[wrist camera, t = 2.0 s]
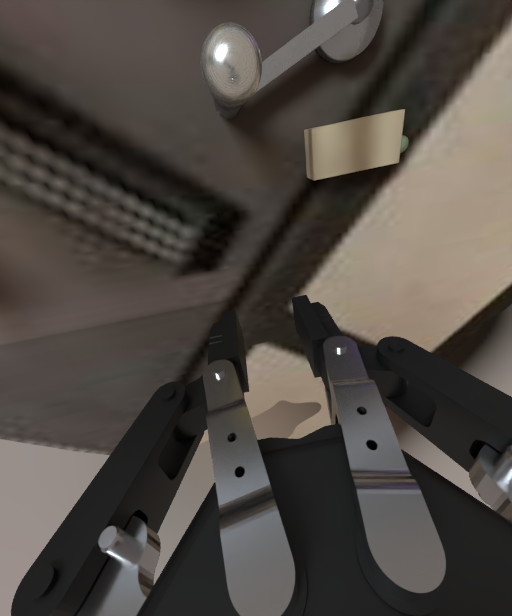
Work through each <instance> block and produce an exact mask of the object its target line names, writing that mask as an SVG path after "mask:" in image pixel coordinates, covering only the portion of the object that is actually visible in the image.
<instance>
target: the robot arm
mask: <svg viewBox="0 0 512 616" xmlns="http://www.w3.org/2000/svg"><path fill="white" fill-rule="evenodd" d="M292 303H293V311H294V320H295V326H296V330H297V333H298V335H299V338H300V341H301V343H302V346H303V348H304V351H305V353H306V356H307V359H308V361H309V364H310V366H311V369H312V372H313V374H314V377H315V378H316V377H321V378H322V380H323V383H324V385H325V392H326V398H327V403H328V409H329V415H330V420H331V425H329V426H324V427H322V428H320V429H318V430H316V431H314V432H312V433H310V434H308V435H306V436H304V437H302V438H300V439H287V438H266V439H261V440H257V438H256V434H255V431H254V428H253V425H252V421H251V418H250V415H249V412H248V409H247V405H246V402H245V399H244V392H249V385H248V376H247V366H246V356H245V347H244V339H243V334H242V330H241V326H240V323H239V319H238V315H237V312H236V310H232V311H227V312H222V322H220V323H215V324H214V325H213V327H212V328H211V330H210V339H209V354H208V366H207V367H206V368H205V370H204V372H203V375H202V376H201V377H200V378H199V379H197V380H196V381H194V382H192V383H190V384H188V385H185V386H184V385H183V384H182V383H180V382H170V383H167V384H165V385H163V386H161V387H160V388H159V389H158V390H157V391H156V392H155V393H154V395H153V396H152V397H151V399H150V400H149V402H148V403H147V405H146V406H145V407H144V409H143V410H142V412H141V413H140V414H139V416H138V417H137V419H136V420H135V421H134V423H133V424H132V426H131V427H130V428H129V430H128V431H127V433H126V434H125V435H124V437H123V438H122V440H121V441H120V442H119V444H118V445H117V447H116V448H115V449H114V451H113V452H112V454H111V455H110V456H109V458H108V459H107V461H106V462H105V464H104V465H103V466H102V468H101V469H100V471H99V472H98V473H97V475H96V476H95V478H94V479H93V480H92V482H91V483H90V485H89V486H88V488H87V489H86V490H85V492H84V493H83V494H82V496H81V497H80V499H79V500H78V502H77V503H76V504H75V506H74V507H73V508H72V510H71V511H70V513H69V514H68V516H67V517H66V518H65V520H64V521H63V523H62V524H61V526H60V527H59V528H58V530H57V531H56V532H55V534H54V535H53V537H52V538H51V539H50V541H49V542H48V544H47V545H46V547H45V548H44V549H43V551H42V552H41V554H40V555H39V556H38V558H37V559H36V561H35V562H34V563H33V565H32V566H31V567H30V569H29V570H28V572H27V573H26V575H25V576H24V578H23V579H22V581H21V583H20V585H19V587H18V589H17V591H16V593H15V596H14V599H13V603H12V609H11V616H512V397H511V396H509V395H507V394H505V393H503V392H501V391H500V390H498V389H496V388H494V387H492V386H490V385H489V384H487V383H485V382H483V381H481V380H479V379H478V378H476V377H474V376H472V375H470V374H468V373H467V372H465V371H463V370H461V369H459V368H457V367H456V366H454V365H452V364H450V363H448V362H447V361H445V360H443V359H441V358H439V357H437V356H436V355H434V354H432V353H430V352H428V351H426V350H425V349H423V348H421V347H419V346H417V345H415V344H414V343H412V342H410V341H408V340H406V339H404V338H400V337H393V336H392V337H385V338H383V339H381V340H380V341H379V342H378V345H377V347H374V346H359V345H356V343H355V342H354V341H353V340H352V339H350V338H348V337H345V336H343V335H342V333H341V332H340V330H339V328H338V327H337V325H336V324H335V322H334V320H333V319H332V317H331V315H330V314H329V312H328V310H327V309H326V307H325V306H324V305H322V304H320V303H319V302H315V303H310V301H309V299H308V297H307V295H303V296H298V297H293V298H292ZM429 396H430V397H429ZM384 404H385V405H386V406H387V407H388V408H390V409H391V410H392V411H394V412H395V413H396V414H397V415H398V416H400V417H401V418H402V419H403V420H404V421H406V422H407V423H408V424H409V425H411V426H412V427H413V428H414V429H416V430H417V431H418V432H419V433H420V434H422V435H423V436H424V437H426V438H427V439H428V440H429V441H430V442H432V443H433V444H434V445H436V446H437V447H438V448H439V449H440V450H442V451H443V452H444V453H445V454H447V455H448V456H449V457H450V458H452V459H453V460H454V461H455V462H456V463H458V464H459V465H460V466H461V467H463V468H464V469H465V470H466V471H468V472H469V477H470V480H471V482H472V485H473V486H474V488H475V489H476V491H477V492H478V494H479V496H480V497H481V499H482V500H483V501H484V502H485V503H487V504H489V505H490V506H491V507H492V509H493V510H492V509H491V508H489V507H488V506H486V505H485V504H483V503H482V502H480V501H479V500H477V499H476V498H474V497H473V496H471V495H470V494H468V493H466V492H465V491H464V490H462V489H461V488H459V487H458V486H456V485H455V484H453V483H452V482H450V481H449V480H447V479H445V478H444V477H443V476H441V475H440V474H438V473H437V472H435V471H433V470H432V469H430V468H429V467H427V466H426V465H424V464H423V463H421V462H420V461H418V460H417V459H415V458H414V457H412V456H411V455H409V454H408V453H406V452H404V451H403V450H402V449H401V448H400V446H399V443H398V440H397V438H396V435H395V432H394V430H393V427H392V425H391V422H390V419H389V417H388V415H387V411H386V409H385V406H384ZM207 429H208V435H209V442H210V449H211V455H212V463H213V469H214V477H215V483H214V484H213V486H212V488H211V489H210V491H209V493H208V494H207V496H206V498H205V500H204V501H203V503H202V505H201V506H200V508H199V510H198V512H197V513H196V515H195V517H194V519H193V520H192V522H191V523H190V525H189V527H188V529H187V530H186V532H185V534H184V535H183V537H182V539H181V540H180V542H179V544H178V546H177V547H176V549H175V551H174V552H173V554H172V556H171V557H170V559H169V561H168V562H167V564H166V566H165V568H164V569H163V571H162V573H161V574H160V576H159V578H158V579H157V581H156V583H155V585H154V582H153V581H154V573H155V568H156V566H157V562H158V560H159V556H160V549H161V547H160V539H159V536H158V535H157V533H158V531H159V529H160V526H161V524H162V522H163V520H164V518H165V516H166V514H167V512H168V509H169V507H170V505H171V503H172V501H173V499H174V497H175V494H176V492H177V490H178V488H179V486H180V484H181V481H182V479H183V477H184V475H185V473H186V471H187V469H188V467H189V464H190V462H191V460H192V458H193V456H194V454H195V452H196V450H197V447H198V445H199V443H200V441H201V439H202V437H203V434H204V431H205V430H207Z"/></svg>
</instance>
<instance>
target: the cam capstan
mask: <svg viewBox="0 0 512 616" xmlns="http://www.w3.org/2000/svg"><path fill="white" fill-rule="evenodd" d="M382 11H383V0H313V2H312V6H311V11H310V26H309V27H308V28H307V29H305V30H304V31H303V32H301V33H300V34H299V35H297V36H296V37H295V38H293V39H292V40H291V41H289V42H288V43H287V44H285V45H284V46H283V47H281V48H280V49H279V50H278V51H276V52H275V53H274V54H272V55H271V56H270V57H268V58H267V59H266V60H264V61H263V62H262V59H261V54H260V50H259V47H258V45H257V43H256V41H255V39H254V37H253V36H252V35H251V33H250V32H249V31H248V30H247V29H246V28H244V27H243V26H241V25H239V24H236V23H231V22H227V23H222V24H220V25H218V26H216V27H215V28H214V29H213V30H212V31H211V32H210V33H209V34H208V36H207V38H206V39H205V42H204V44H203V47H202V52H201V72H202V76H203V80H204V82H205V85H206V87H207V89H208V90H209V92H210V93H211V94H212V96H213V99H214V103H215V107H216V110H217V112H218V113H219V115H220V116H222V117H223V118H226V119H230V118H233V117H234V116H236V114H237V113H238V111H239V109H240V107H241V106H242V104H244V103H245V102H247V101H248V100H249V99H251V97H252V96H253V95H254V94H255V93H257V92H258V91H260V90H261V89H262V88H264V87H265V86H266V85H268V84H269V83H270V82H272V81H273V80H274V79H276V78H277V77H279V76H280V75H281V74H283V73H284V72H285V71H287V70H288V69H289V68H291V67H292V66H294V65H295V64H296V63H298V62H299V61H300V60H302V59H303V58H304V57H306V56H307V55H308V54H310V53H311V52H313V51H314V50H315V49H316V51H317V52H318V53H319V55H320V56H321V57H322V58H323V59H325V60H326V61H328V62H331V63H336V64H337V63H344V62H346V61H349V60H350V59H352V58H353V57H355V56H357V55H358V54H360V53H361V52H362V51H363V50H364V49H365V48H366V47H367V46H368V45H369V43H370V42H371V41H372V39H373V37H374V36H375V34H376V32H377V29H378V27H379V24H380V20H381V16H382Z"/></svg>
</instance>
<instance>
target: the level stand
mask: <svg viewBox="0 0 512 616" xmlns="http://www.w3.org/2000/svg"><path fill="white" fill-rule="evenodd" d="M404 113H405V109H403V110H397V111H391V112H386V113H381V114H376V115H372V116H367V117H362V118H358V119H353V120H348V121H344V122H339V123H334V124H329V125H325V126H320V127H315V128H311V129H306V130H304V136H305V153H306V169H307V178H309V179H312V180H319V179H324V178H329V177H333V176H338V175H343V174H347V173H352V172H357V171H362V170H366V169H371V168H376V167H381V166H385V165H390V164H395V163H399V157H400V153H402V152H403V151H404V150H405V149H406V148H407V146H408V138H407V137H406V136H404V135H402V131H403V122H404Z"/></svg>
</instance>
